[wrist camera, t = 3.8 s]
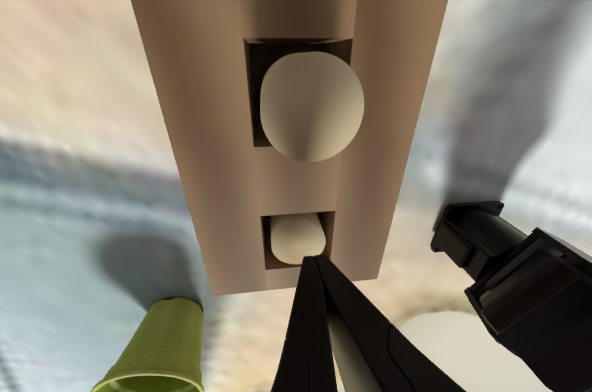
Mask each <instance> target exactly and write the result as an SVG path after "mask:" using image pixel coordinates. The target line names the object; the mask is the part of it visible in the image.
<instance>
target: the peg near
mask: <svg viewBox="0 0 592 392" xmlns="http://www.w3.org/2000/svg"><path fill="white" fill-rule="evenodd" d="M363 113H364V95H363V90H362V86H361V83H360V81H359V79H358V77H357V75H356V74H355V72H354V71H353V70H352V68H351V67H350V66H349V65H348V64H347V63H345V62H344V61H343V60H341V59H340V58H338V57H336V56H334V55H331V54H328V53H324V52H304V53H293V54H288V55H285V56H282V57H281V58H279V59H277V60H276V61H275V62H274V63H273V64H272V65H271V66H270V67H269V68H268V70H267V71H266V73H265V75H264V78H263V81H262V85H261V98H260V117H261V123H262V127H263V130H264V132H265V134H266V136H267V138H268V140H269V141H270V143H271V144H272V145H273V146H274V147H275V148H276V149H277V150H278V151H279V152H280V153H282V154H283V155H285V156H286V157H288V158H291V159H293V160H297V161H301V162H318V161H322V160H325V159H328V158H330V157H332V156H334V155H336V154H337V153H339V152H340V151H342V150H343V149H344V148H345V147H346V146H347V145H348V144H349V143H350V142H351V141H352V139H353V138H354V136H355V135H356V133H357V131H358V129H359V127H360V124H361V121H362V118H363Z"/></svg>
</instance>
